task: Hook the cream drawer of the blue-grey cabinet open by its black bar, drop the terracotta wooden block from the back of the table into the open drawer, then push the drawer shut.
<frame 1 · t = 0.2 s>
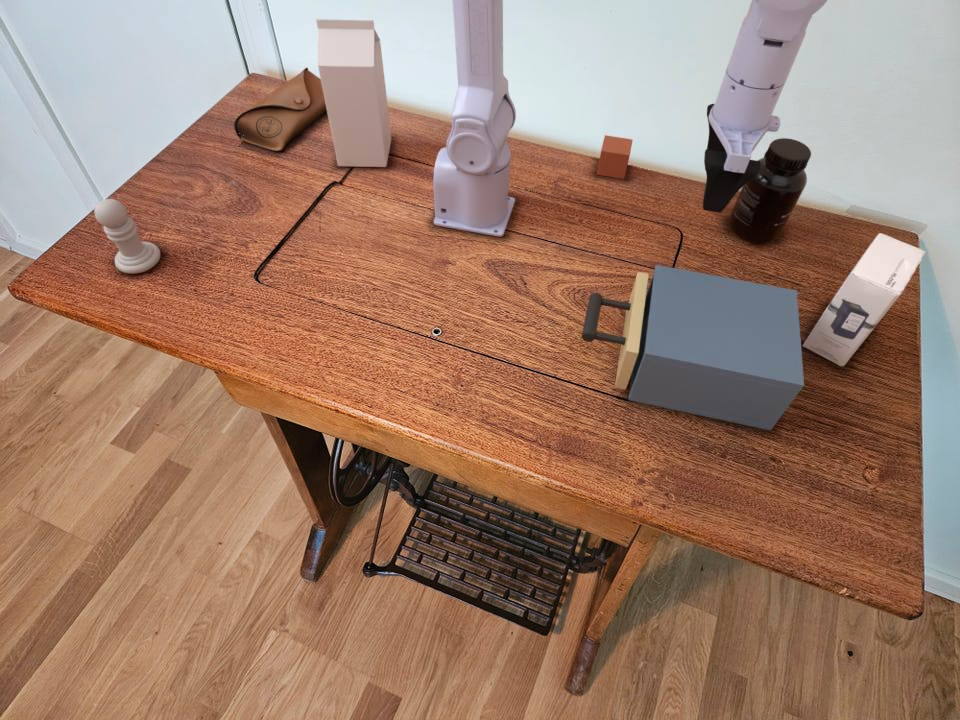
hand: (712, 189, 72), 10 cm above the table, tool pointing down, fingers open, 7 cm apart
chess piece: (140, 261, 78), on the table
sunglasses case: (295, 118, 98), on the table
milk carton: (365, 154, 92), on the table
supplement bottle: (753, 229, 83), on the table
block: (611, 169, 90), on the table
ink box: (834, 336, 72), on the table
cabinet: (700, 368, 68), on the table
drawer: (668, 337, 66), point 4 cm above the table, slide at 0.5 cm
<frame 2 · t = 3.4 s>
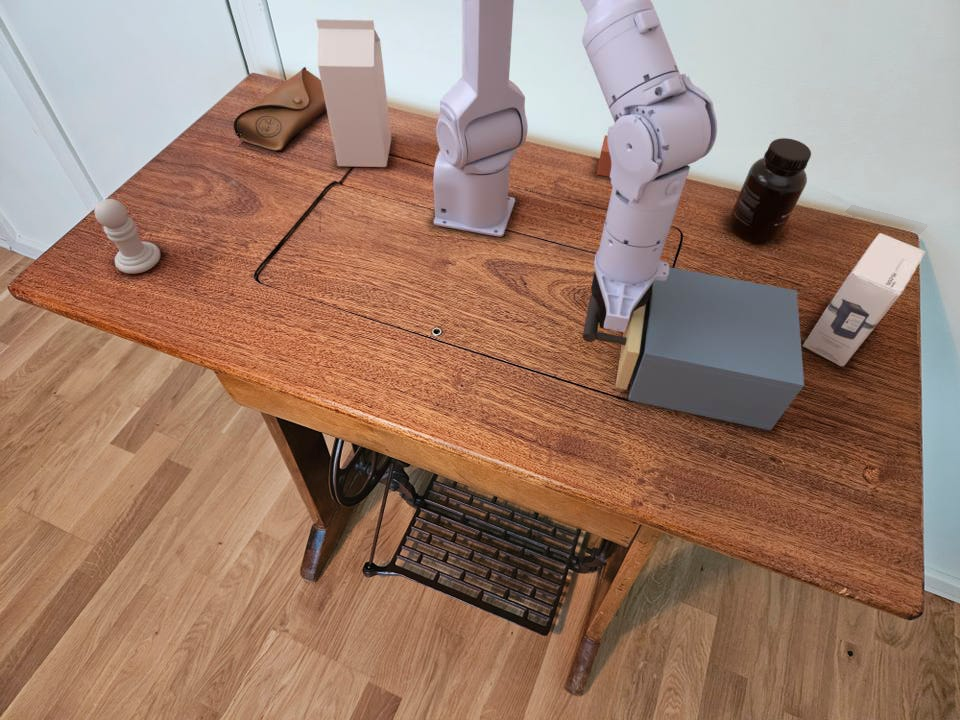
hand: (609, 325, 67), 4 cm above the table, tool pointing down, fingers closed, pressing on drawer
drawer: (669, 337, 66), point 4 cm above the table, slide at 0.4 cm, touching gripper
everything else where it was.
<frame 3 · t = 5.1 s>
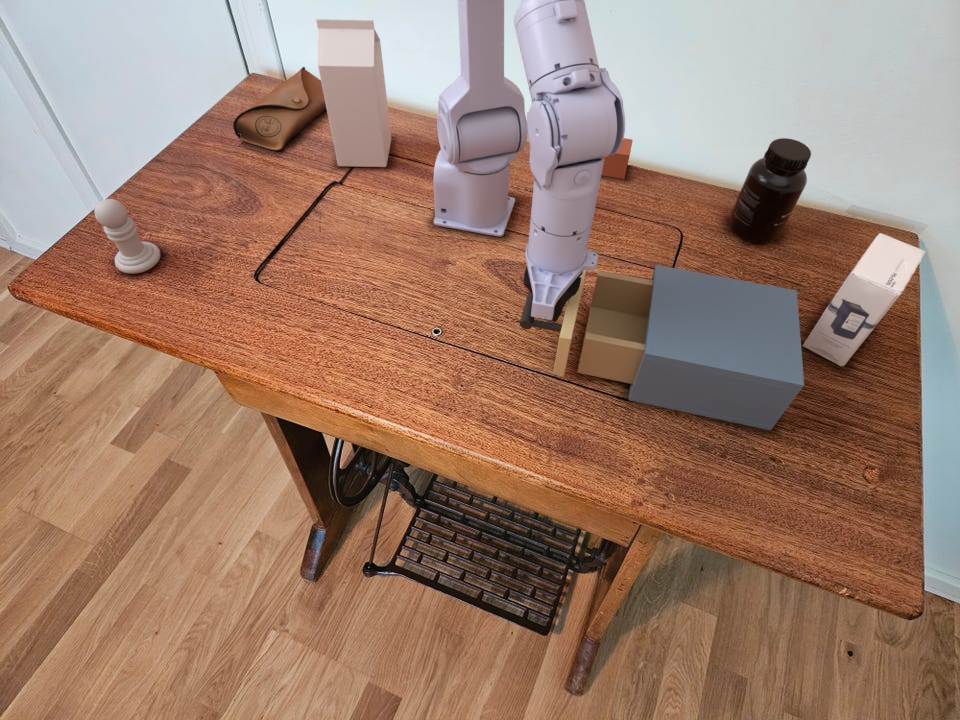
hand: (548, 315, 68), 4 cm above the table, tool pointing down, fingers closed, pressing on drawer
drawer: (606, 324, 67), point 4 cm above the table, slide at 7.1 cm, touching gripper
everything else where it was.
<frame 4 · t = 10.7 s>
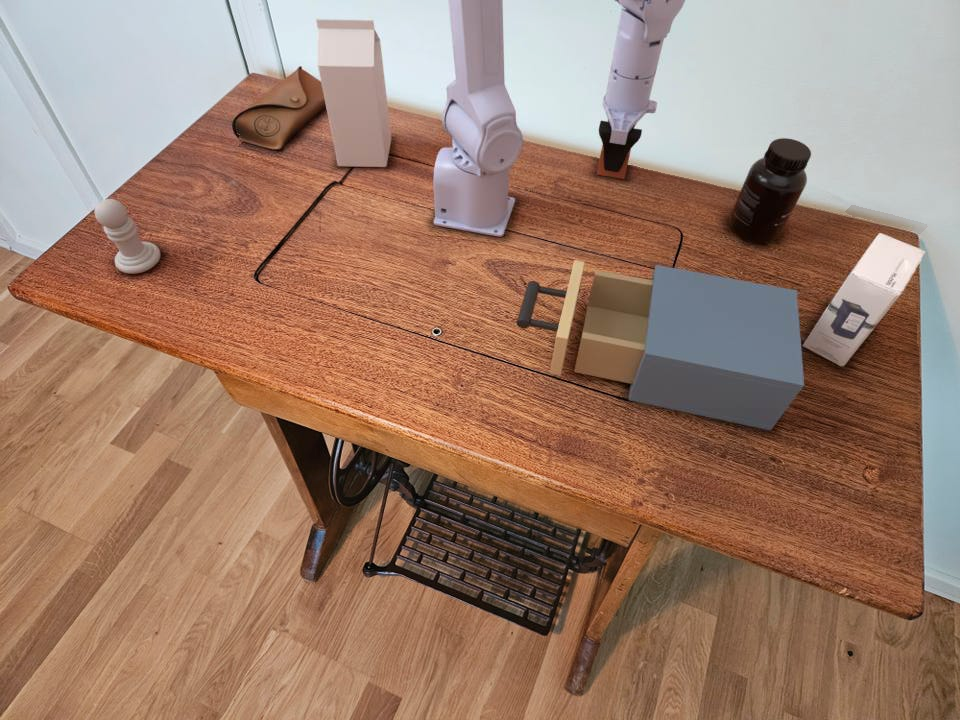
hand: (613, 160, 89), 1 cm above the table, tool pointing down, fingers closed on block, 4 cm apart
block: (611, 168, 90), on the table, touching gripper
drawer: (603, 324, 67), point 4 cm above the table, slide at 7.5 cm
everything else where it was.
when the fingers open (6 cm above the table, at t = 17.0 s): block drops 3 cm, resting on drawer.
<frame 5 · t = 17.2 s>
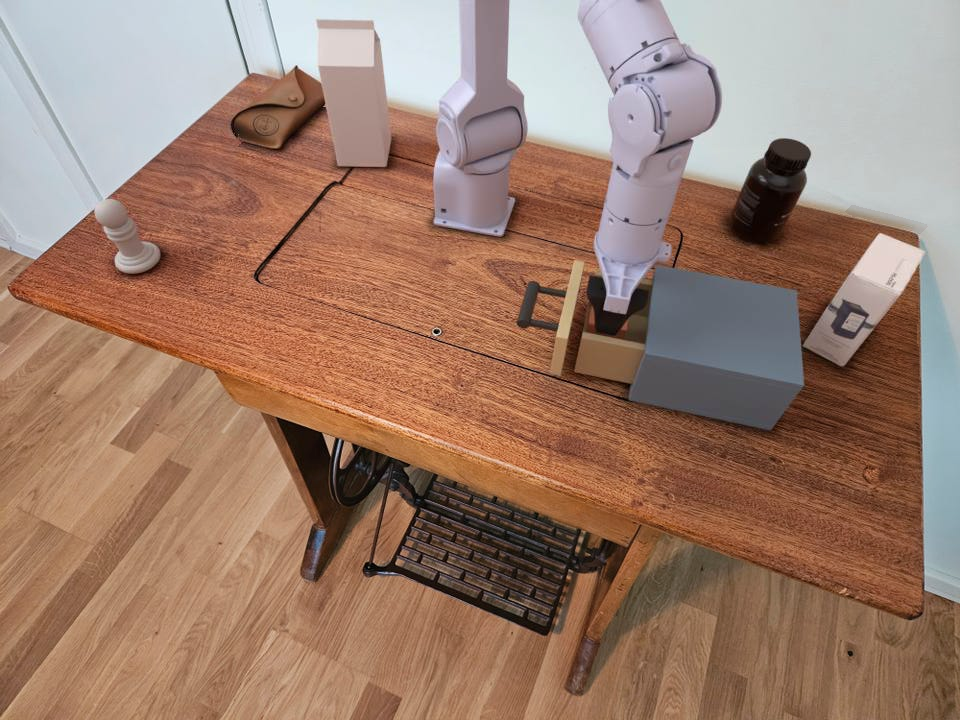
hand: (609, 309, 65), 6 cm above the table, tool pointing down, fingers open, 6 cm apart
block: (603, 337, 68), point 2 cm above the table, touching drawer
drawer: (603, 324, 67), point 4 cm above the table, slide at 7.5 cm, touching block
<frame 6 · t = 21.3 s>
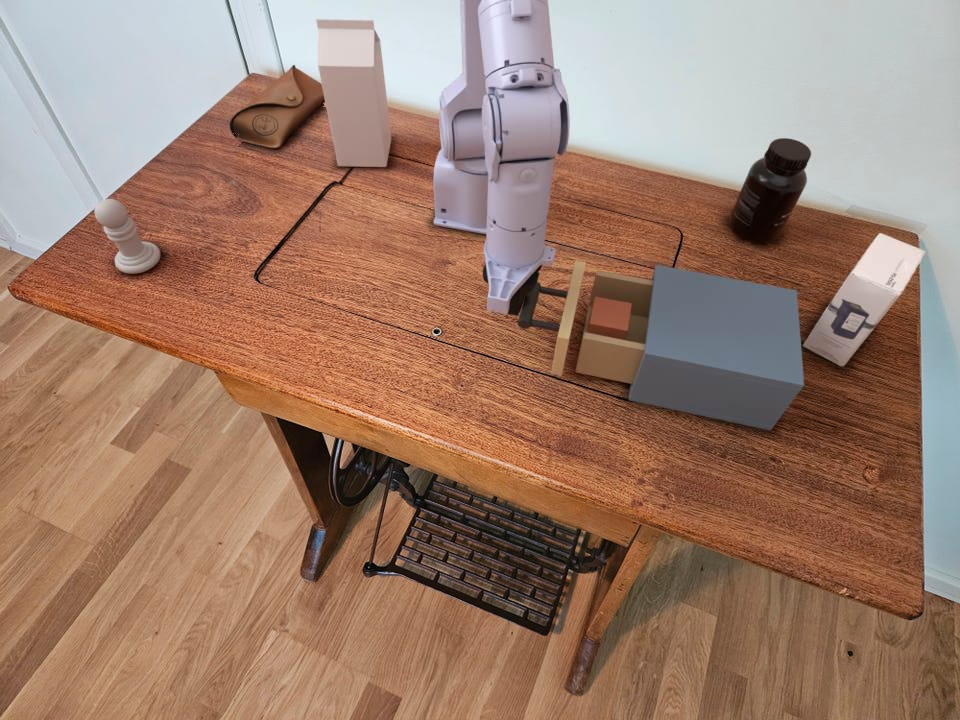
hand: (510, 309, 69), 3 cm above the table, tool pointing down, fingers closed, pressing on drawer
drawer: (604, 324, 67), point 4 cm above the table, slide at 7.3 cm, touching block, gripper
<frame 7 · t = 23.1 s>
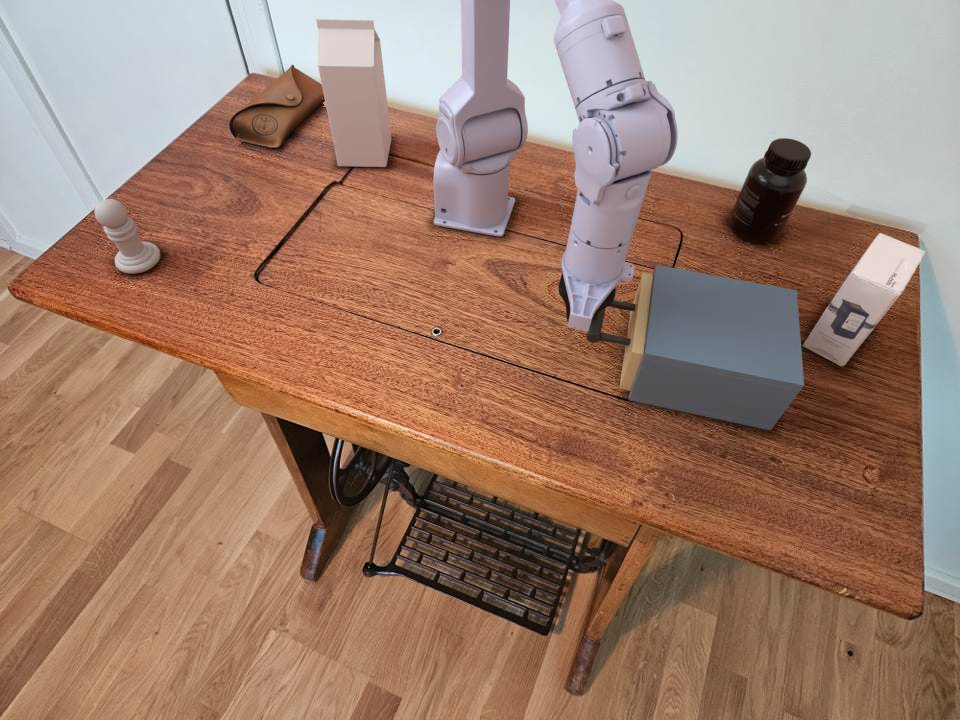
hand: (578, 323, 68), 3 cm above the table, tool pointing down, fingers closed, pressing on drawer
block: (672, 350, 67), point 2 cm above the table, touching drawer
drawer: (673, 338, 66), point 4 cm above the table, slide at 0.0 cm, touching block, cabinet, gripper
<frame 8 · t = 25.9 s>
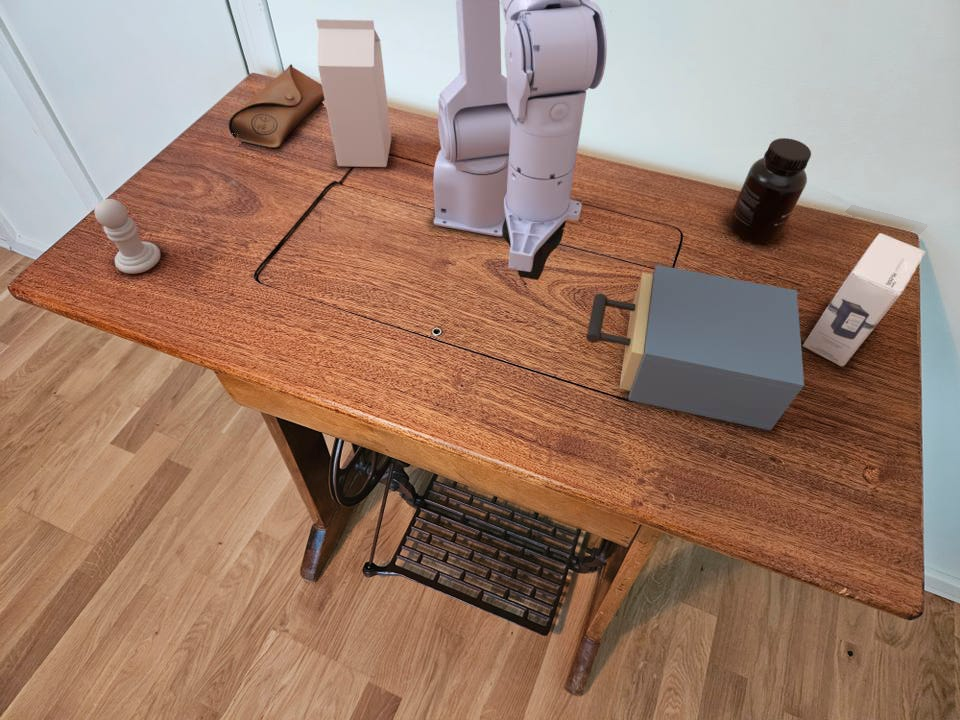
hand: (529, 273, 64), 9 cm above the table, tool pointing down, fingers closed
drawer: (673, 338, 66), point 4 cm above the table, slide at 0.0 cm, touching block
at the end: drawer pulled out 7.5 cm at the most during the clip, back to where it started at the end; block inside the target area in the cabinet (3.1 cm from its centre), point 2.0 cm above the cabinet's base; drawer slide at 0.0 cm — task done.
